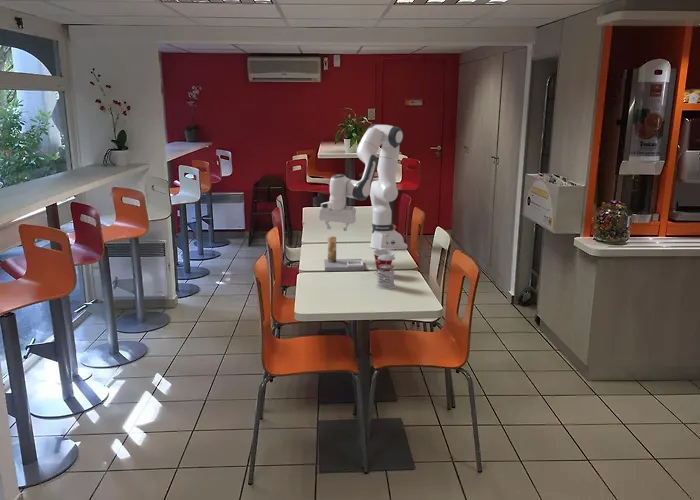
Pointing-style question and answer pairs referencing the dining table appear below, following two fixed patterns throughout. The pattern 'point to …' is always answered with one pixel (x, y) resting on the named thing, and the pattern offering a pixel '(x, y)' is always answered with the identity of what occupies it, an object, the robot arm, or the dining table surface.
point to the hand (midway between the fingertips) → (337, 230)
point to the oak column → (331, 249)
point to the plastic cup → (377, 254)
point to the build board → (344, 265)
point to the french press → (387, 282)
